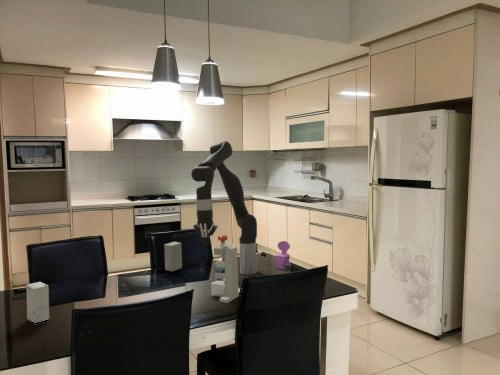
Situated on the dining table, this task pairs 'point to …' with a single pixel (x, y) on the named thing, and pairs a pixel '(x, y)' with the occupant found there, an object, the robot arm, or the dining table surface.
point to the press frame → (229, 272)
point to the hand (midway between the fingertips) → (206, 244)
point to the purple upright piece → (282, 255)
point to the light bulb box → (219, 273)
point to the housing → (218, 288)
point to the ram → (222, 261)
